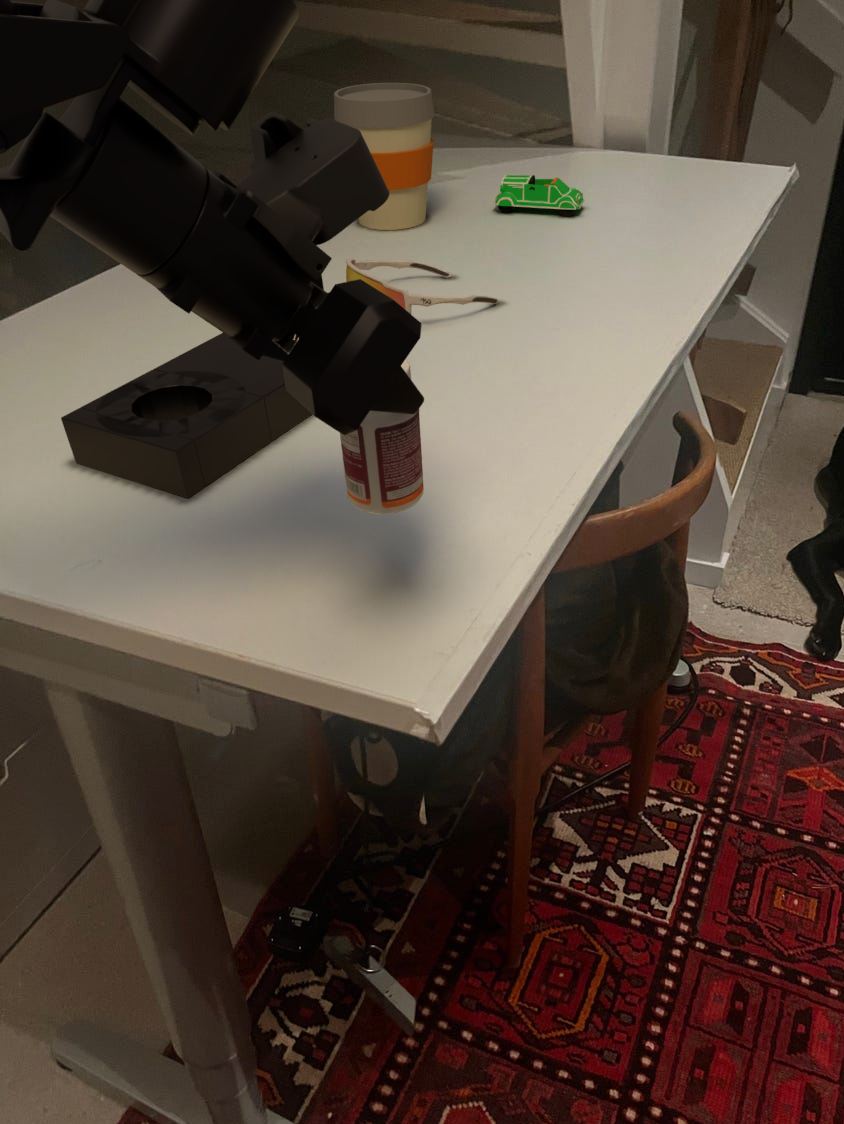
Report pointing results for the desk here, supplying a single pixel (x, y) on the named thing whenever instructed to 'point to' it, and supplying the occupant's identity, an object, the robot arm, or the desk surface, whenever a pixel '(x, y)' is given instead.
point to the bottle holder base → (186, 418)
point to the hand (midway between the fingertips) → (398, 390)
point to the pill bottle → (384, 461)
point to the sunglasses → (402, 295)
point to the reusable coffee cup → (393, 145)
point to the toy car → (537, 194)
